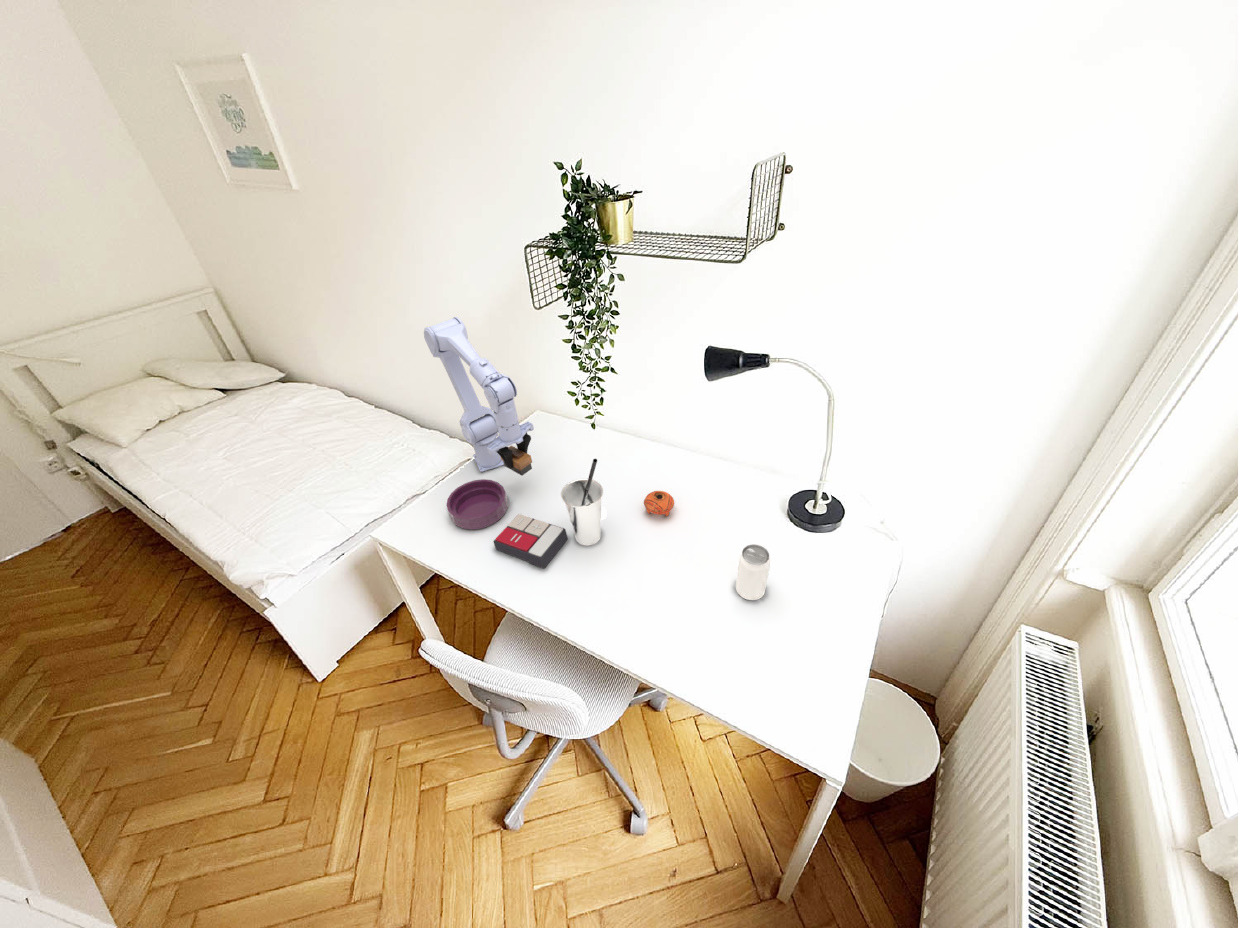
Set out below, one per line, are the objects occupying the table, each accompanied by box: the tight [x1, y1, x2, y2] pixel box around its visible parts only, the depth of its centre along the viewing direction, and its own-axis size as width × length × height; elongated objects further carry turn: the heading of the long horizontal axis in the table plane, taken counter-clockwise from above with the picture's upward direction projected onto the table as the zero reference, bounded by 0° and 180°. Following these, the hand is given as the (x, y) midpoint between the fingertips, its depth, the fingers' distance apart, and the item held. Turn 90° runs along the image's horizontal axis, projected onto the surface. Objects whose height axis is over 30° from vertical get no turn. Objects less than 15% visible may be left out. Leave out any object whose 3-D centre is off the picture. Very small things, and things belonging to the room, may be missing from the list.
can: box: [735, 543, 771, 601], centre depth 115 cm, size 6×6×12 cm
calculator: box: [493, 513, 568, 569], centre depth 133 cm, size 11×4×15 cm
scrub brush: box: [500, 445, 533, 477], centre depth 145 cm, size 8×4×6 cm, turn 50°
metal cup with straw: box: [560, 458, 604, 547], centre depth 125 cm, size 11×11×30 cm
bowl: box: [446, 478, 509, 530], centre depth 144 cm, size 16×16×4 cm
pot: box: [643, 490, 675, 517], centre depth 139 cm, size 8×8×7 cm
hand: (516, 462), depth 145 cm, fingers closed on scrub brush, 4 cm apart
